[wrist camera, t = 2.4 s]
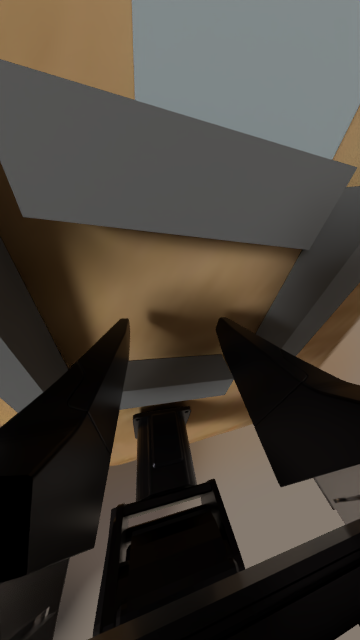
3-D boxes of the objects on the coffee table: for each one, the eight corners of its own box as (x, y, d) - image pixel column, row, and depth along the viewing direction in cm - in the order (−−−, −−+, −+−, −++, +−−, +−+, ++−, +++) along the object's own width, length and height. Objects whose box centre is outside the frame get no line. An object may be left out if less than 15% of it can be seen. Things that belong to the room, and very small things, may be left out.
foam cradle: (252, 366, 16) (267, 388, 14) (47, 387, 12) (28, 422, 10) (365, 195, 8) (438, 191, 6) (-193, 56, 4) (-600, -123, 2)
